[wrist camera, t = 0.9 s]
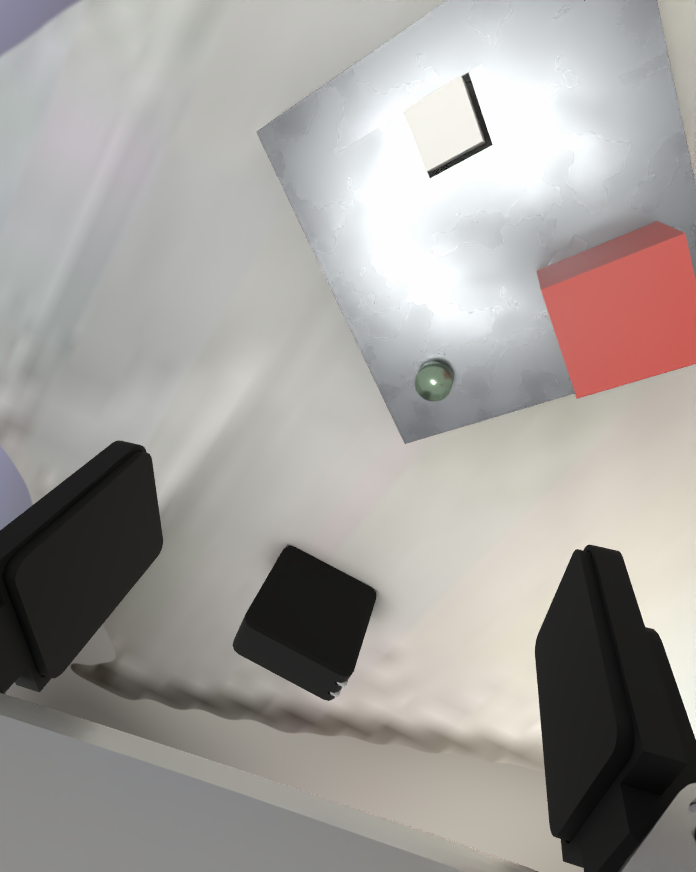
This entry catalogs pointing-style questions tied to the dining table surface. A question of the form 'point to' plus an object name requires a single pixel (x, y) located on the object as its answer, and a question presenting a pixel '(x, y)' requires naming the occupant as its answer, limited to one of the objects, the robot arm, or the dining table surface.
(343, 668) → the electronic device
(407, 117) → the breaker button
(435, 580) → the dining table surface
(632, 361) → the red block
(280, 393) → the dining table surface
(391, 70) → the board
